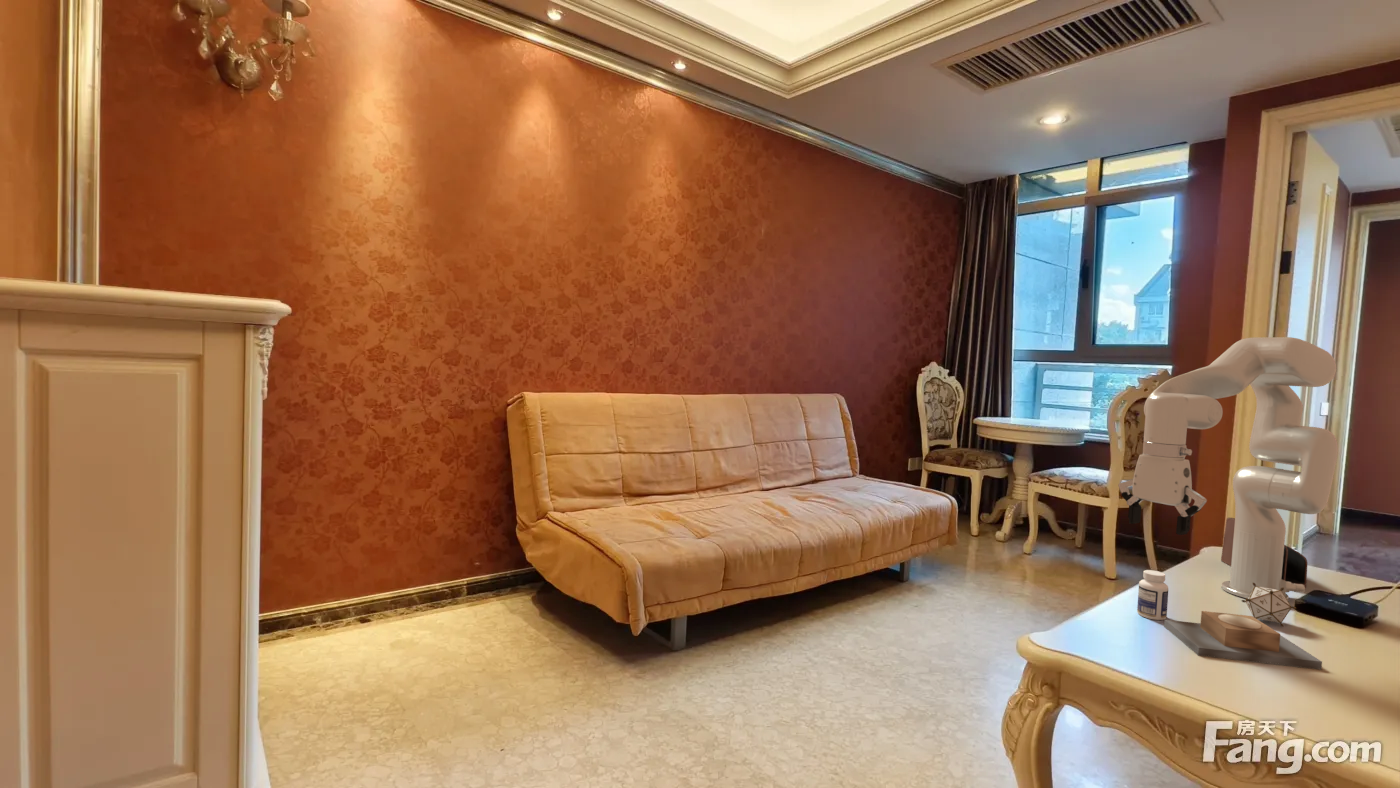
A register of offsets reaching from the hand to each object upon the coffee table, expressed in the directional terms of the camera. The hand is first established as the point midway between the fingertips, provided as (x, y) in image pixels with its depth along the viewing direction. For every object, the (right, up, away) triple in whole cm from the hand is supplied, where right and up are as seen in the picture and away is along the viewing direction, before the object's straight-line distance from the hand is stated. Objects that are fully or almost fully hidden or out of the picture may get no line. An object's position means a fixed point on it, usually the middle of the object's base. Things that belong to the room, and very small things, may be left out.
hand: (1157, 528), depth 144 cm
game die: (+24, -21, 0) cm, 32 cm away
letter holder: (+52, -20, +34) cm, 66 cm away
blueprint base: (+6, -21, -14) cm, 26 cm away
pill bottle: (0, -20, +1) cm, 20 cm away
